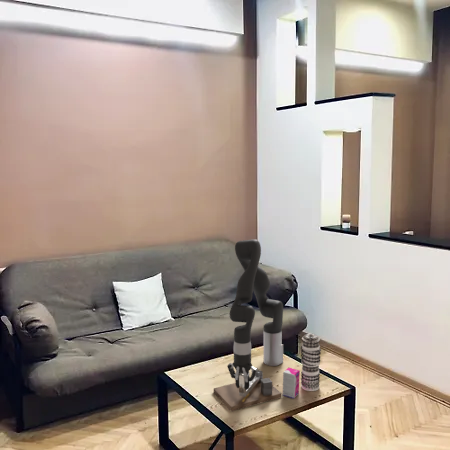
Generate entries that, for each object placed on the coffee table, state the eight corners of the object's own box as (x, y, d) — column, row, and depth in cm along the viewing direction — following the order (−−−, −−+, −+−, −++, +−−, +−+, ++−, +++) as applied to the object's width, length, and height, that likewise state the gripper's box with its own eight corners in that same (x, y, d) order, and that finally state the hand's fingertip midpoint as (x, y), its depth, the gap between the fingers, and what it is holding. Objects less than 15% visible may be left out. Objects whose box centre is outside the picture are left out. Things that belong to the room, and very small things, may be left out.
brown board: (261, 380, 237) (261, 364, 236) (281, 397, 221) (281, 380, 220) (213, 392, 226) (213, 376, 225) (231, 411, 210) (231, 393, 209)
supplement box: (294, 399, 219) (294, 375, 217) (282, 395, 222) (282, 371, 221) (299, 393, 224) (299, 369, 222) (287, 390, 227) (287, 366, 225)
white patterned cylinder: (307, 393, 224) (308, 341, 220) (296, 384, 233) (296, 333, 228) (324, 388, 228) (325, 337, 224) (312, 380, 236) (313, 330, 232)
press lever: (255, 378, 234) (255, 354, 232) (264, 379, 232) (264, 356, 230) (236, 399, 215) (236, 374, 213) (245, 402, 213) (245, 376, 211)
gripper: (261, 349, 212) (260, 387, 215) (230, 344, 218) (230, 381, 221) (254, 356, 205) (254, 395, 208) (223, 351, 211) (224, 388, 214)
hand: (242, 387), depth 215 cm, fingers closed on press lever, 3 cm apart
